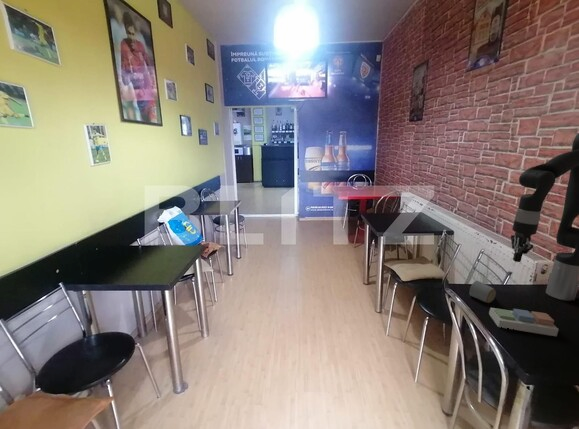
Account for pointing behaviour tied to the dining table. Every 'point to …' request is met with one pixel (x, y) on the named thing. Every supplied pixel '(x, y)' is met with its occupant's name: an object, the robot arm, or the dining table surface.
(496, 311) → the green button
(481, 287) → the grey cylinder
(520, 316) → the slate button
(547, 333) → the console
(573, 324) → the dining table surface
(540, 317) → the terracotta button
